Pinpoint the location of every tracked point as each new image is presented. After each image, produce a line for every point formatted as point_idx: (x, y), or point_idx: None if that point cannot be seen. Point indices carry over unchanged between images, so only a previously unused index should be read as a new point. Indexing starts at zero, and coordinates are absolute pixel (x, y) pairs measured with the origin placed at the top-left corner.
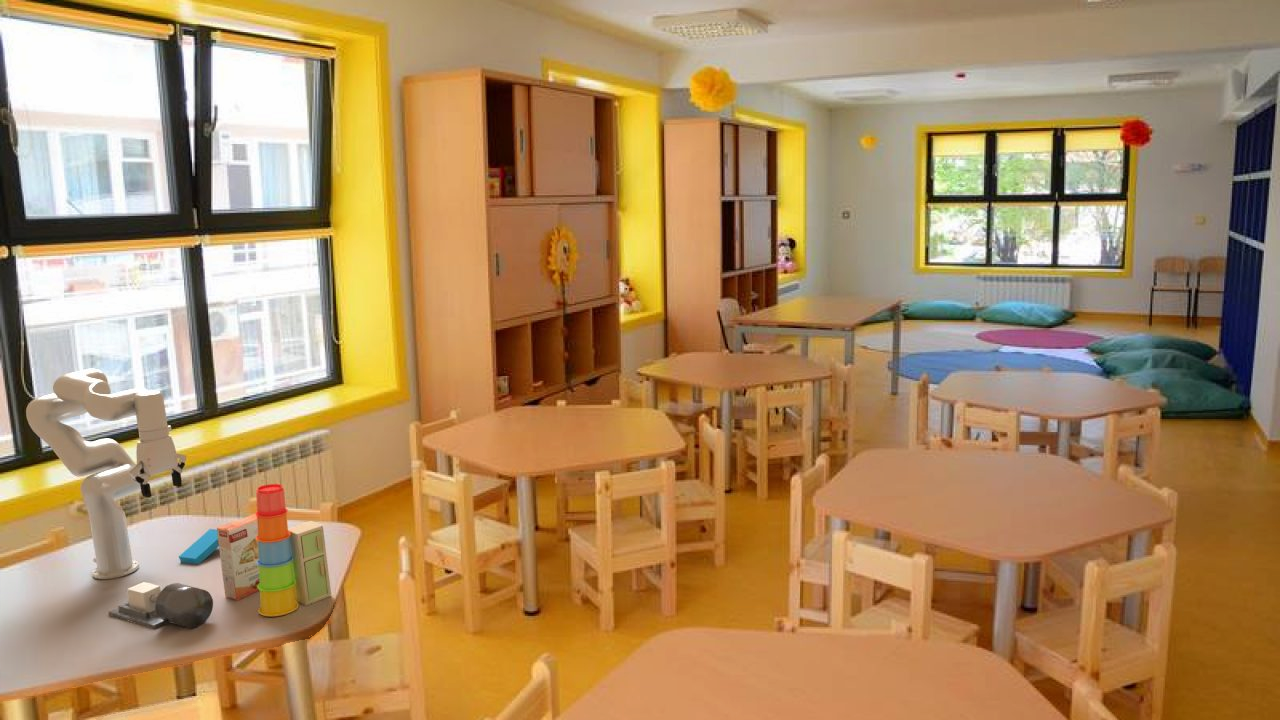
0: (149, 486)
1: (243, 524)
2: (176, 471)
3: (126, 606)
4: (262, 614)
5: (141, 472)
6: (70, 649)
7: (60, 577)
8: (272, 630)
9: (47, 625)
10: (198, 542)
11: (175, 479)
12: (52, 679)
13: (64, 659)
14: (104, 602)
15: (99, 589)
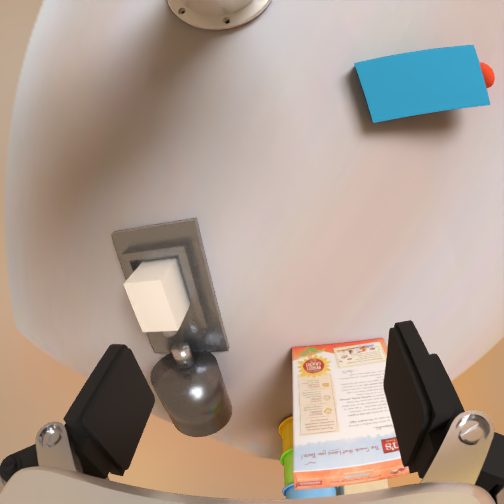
0: (128, 457)
1: (338, 485)
2: (423, 477)
3: (131, 271)
4: (278, 430)
5: (38, 484)
6: (57, 301)
7: None
8: (262, 450)
9: (40, 179)
10: (422, 63)
11: (400, 405)
12: (45, 350)
13: (52, 320)
14: (125, 156)
15: (146, 66)
